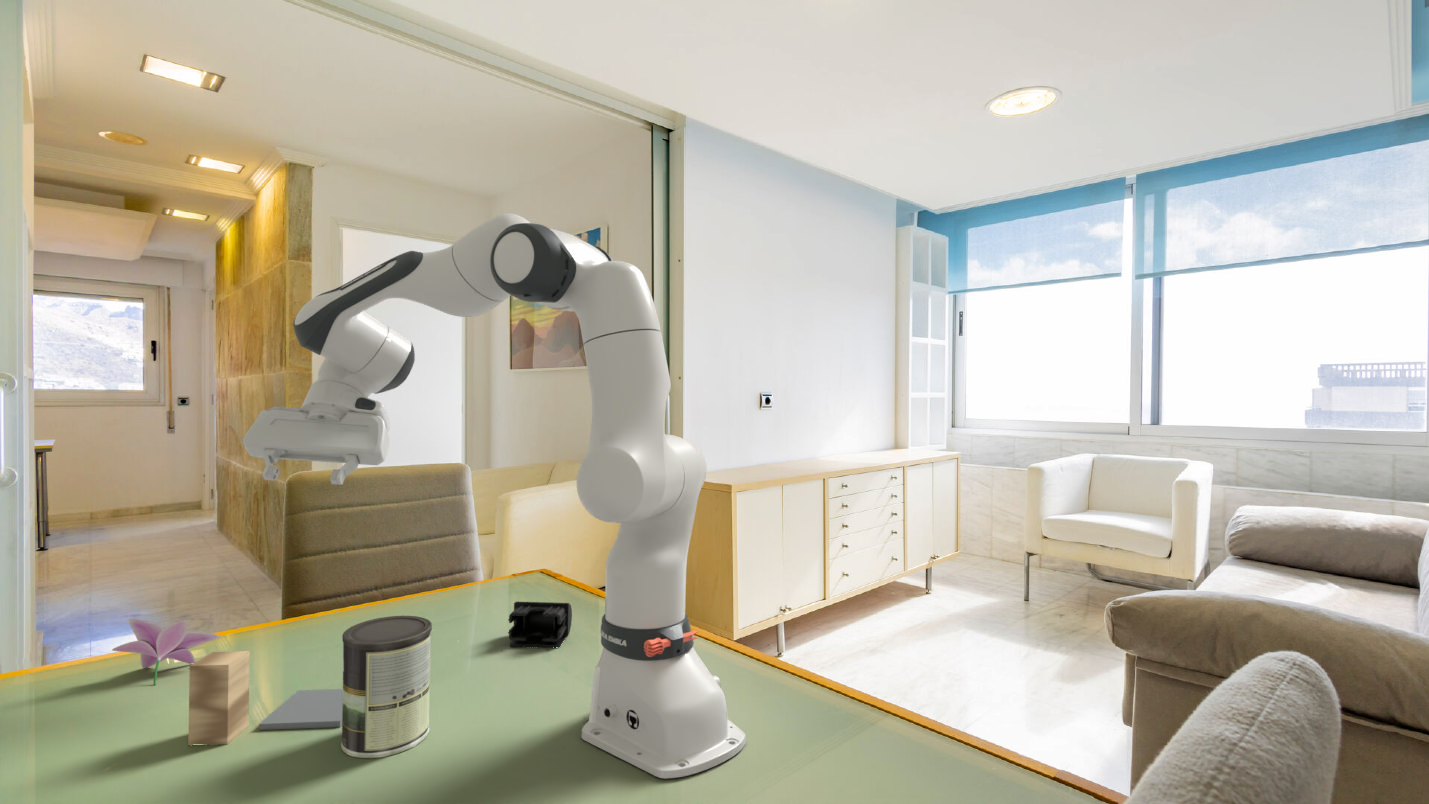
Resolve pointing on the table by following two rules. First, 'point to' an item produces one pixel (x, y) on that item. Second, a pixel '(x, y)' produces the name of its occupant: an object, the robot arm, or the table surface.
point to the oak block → (219, 697)
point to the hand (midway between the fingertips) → (302, 480)
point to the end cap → (540, 624)
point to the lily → (163, 642)
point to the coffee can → (385, 686)
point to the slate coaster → (307, 711)
